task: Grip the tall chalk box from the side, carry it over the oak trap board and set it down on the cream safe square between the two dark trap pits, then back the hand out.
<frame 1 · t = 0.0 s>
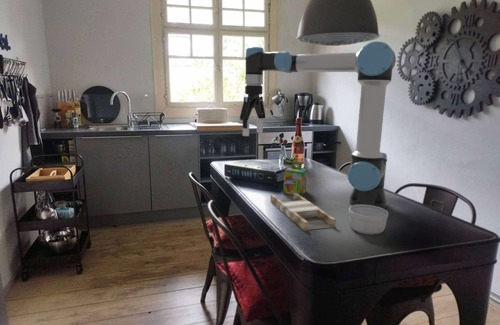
hand: (252, 134, 153), 28 cm above the table, tool pointing down, fingers open, 13 cm apart
chalk box: (294, 193, 164), on the table
ramekin: (366, 229, 123), on the table
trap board: (299, 213, 137), on the table
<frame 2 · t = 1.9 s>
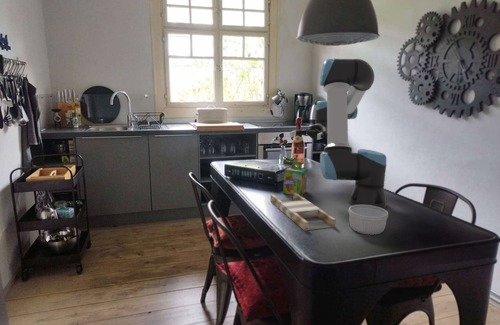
hand: (304, 135, 166), 26 cm above the table, tool horizontal, fingers open, 13 cm apart
nothing on the table moved.
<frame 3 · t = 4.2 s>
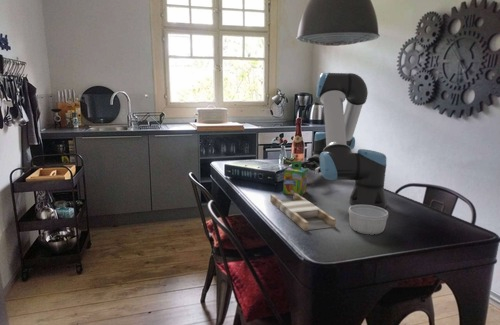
hand: (302, 170, 170), 9 cm above the table, tool horizontal, fingers open, 13 cm apart
nothing on the table moved.
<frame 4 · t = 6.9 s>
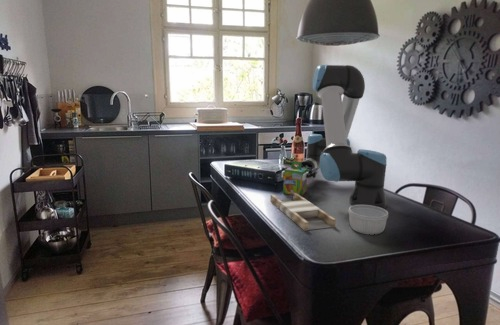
hand: (292, 176, 158), 9 cm above the table, tool horizontal, fingers closed on chalk box, 9 cm apart
chalk box: (294, 193, 163), on the table, touching gripper
everything else where it was.
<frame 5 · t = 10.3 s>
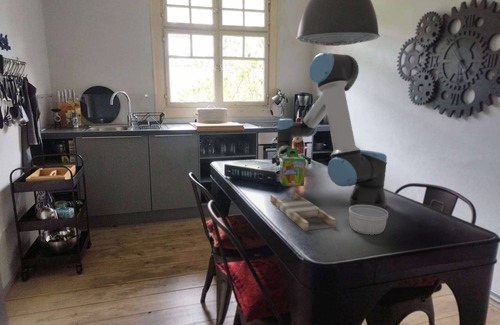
hand: (294, 164, 140), 18 cm above the table, tool horizontal, fingers closed on chalk box, 9 cm apart
chalk box: (291, 183, 146), point 9 cm above the table, touching gripper
everything else where it was.
when the fingers open (13 cm above the table, at t = 13.4 s): chalk box drops 1 cm, resting on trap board.
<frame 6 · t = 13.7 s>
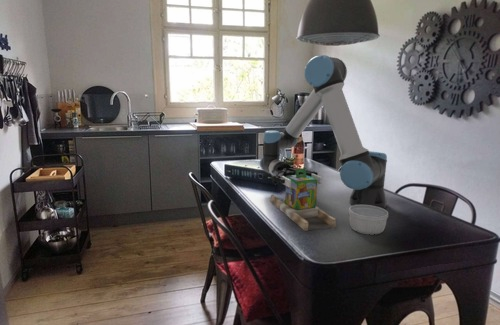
hand: (305, 182, 131), 13 cm above the table, tool horizontal, fingers open, 13 cm apart
chalk box: (300, 206, 136), point 3 cm above the table, touching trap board
everything else where it was.
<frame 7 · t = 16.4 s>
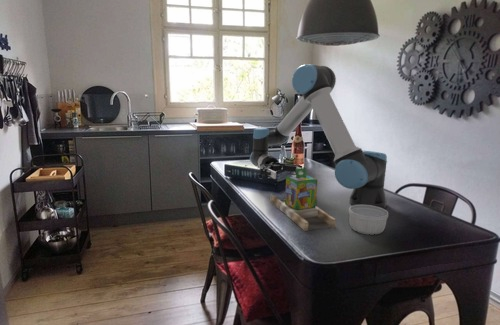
hand: (290, 174, 142), 14 cm above the table, tool horizontal, fingers open, 13 cm apart
nothing on the table moved.
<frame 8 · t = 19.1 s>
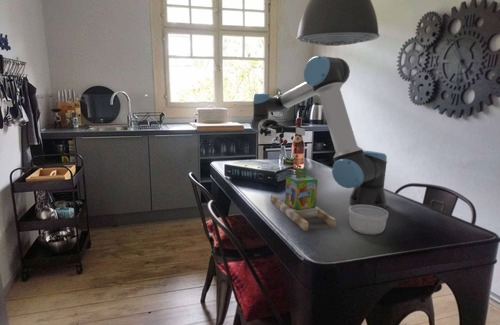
hand: (289, 132, 144), 30 cm above the table, tool horizontal, fingers open, 13 cm apart
nothing on the table moved.
at the end: chalk box 0.1 cm off-centre on the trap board, point 2.8 cm above the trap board's base; chalk box tilted 0°; the gripper is holding nothing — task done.
